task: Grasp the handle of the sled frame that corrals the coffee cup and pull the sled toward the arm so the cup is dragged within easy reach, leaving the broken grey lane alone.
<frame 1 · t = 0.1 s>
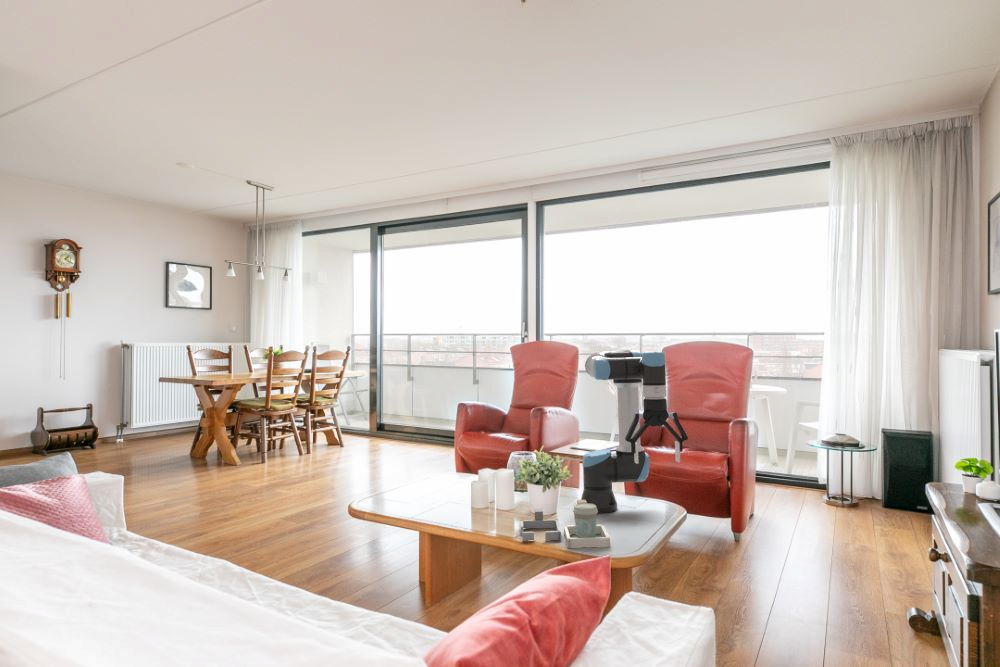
hand: (657, 462, 197), 28 cm above the table, tool pointing down, fingers open, 13 cm apart
coffee cup: (586, 541, 206), resting in sled
sled: (585, 522, 208), point 5 cm above the table, slide at 0.0 cm
broken lane: (540, 534, 214), on the table
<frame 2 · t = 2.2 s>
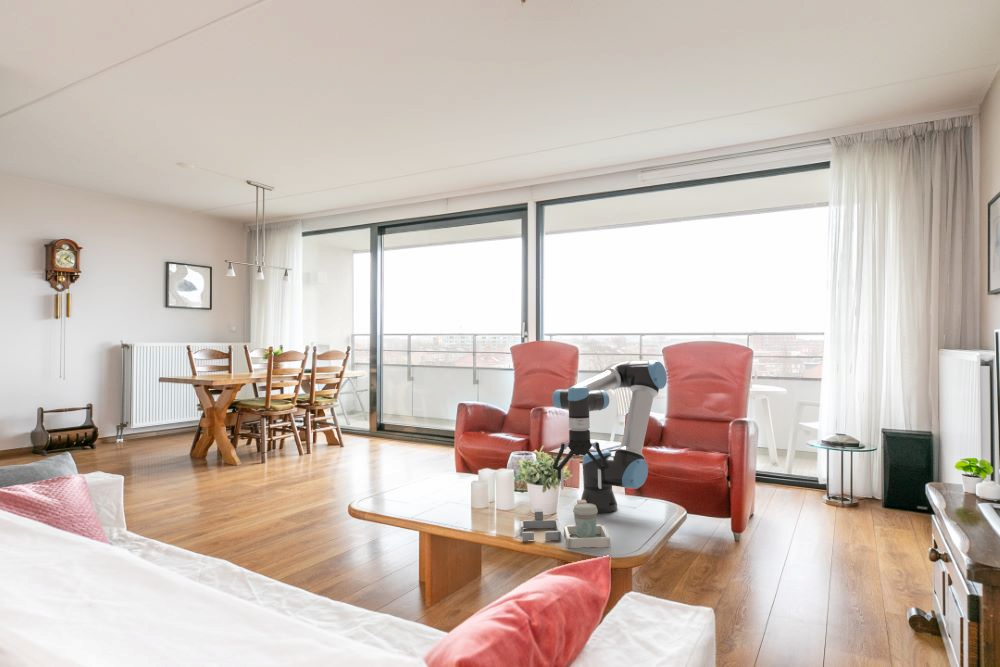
hand: (581, 488, 216), 16 cm above the table, tool pointing down, fingers open, 13 cm apart
nothing on the table moved.
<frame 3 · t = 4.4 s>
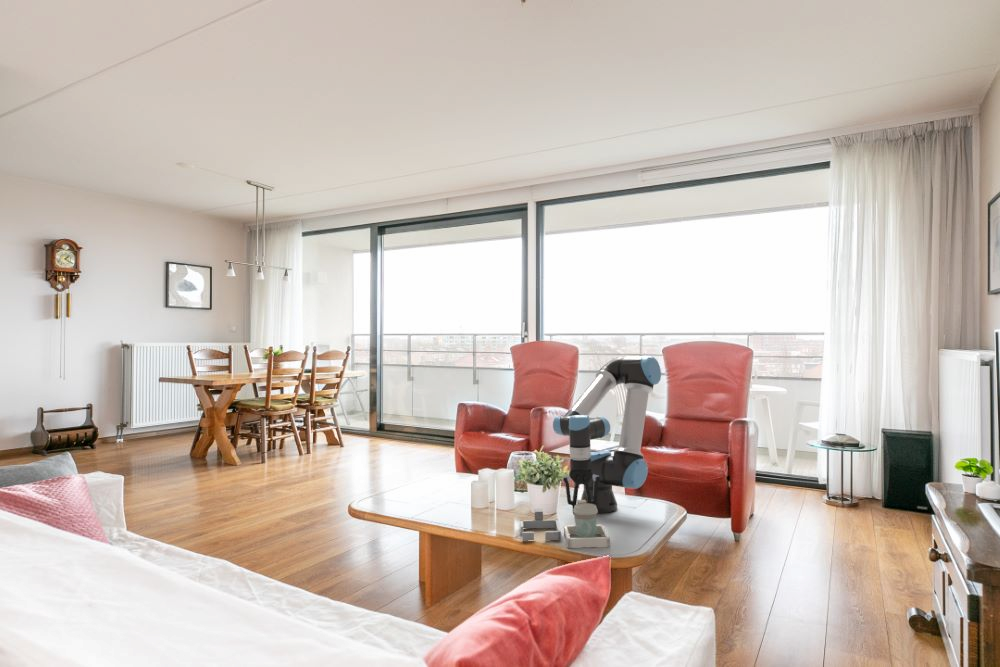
hand: (582, 523, 216), 3 cm above the table, tool pointing down, fingers closed on sled, 3 cm apart
sled: (585, 522, 208), point 5 cm above the table, slide at 0.0 cm, touching gripper
everything else where it was.
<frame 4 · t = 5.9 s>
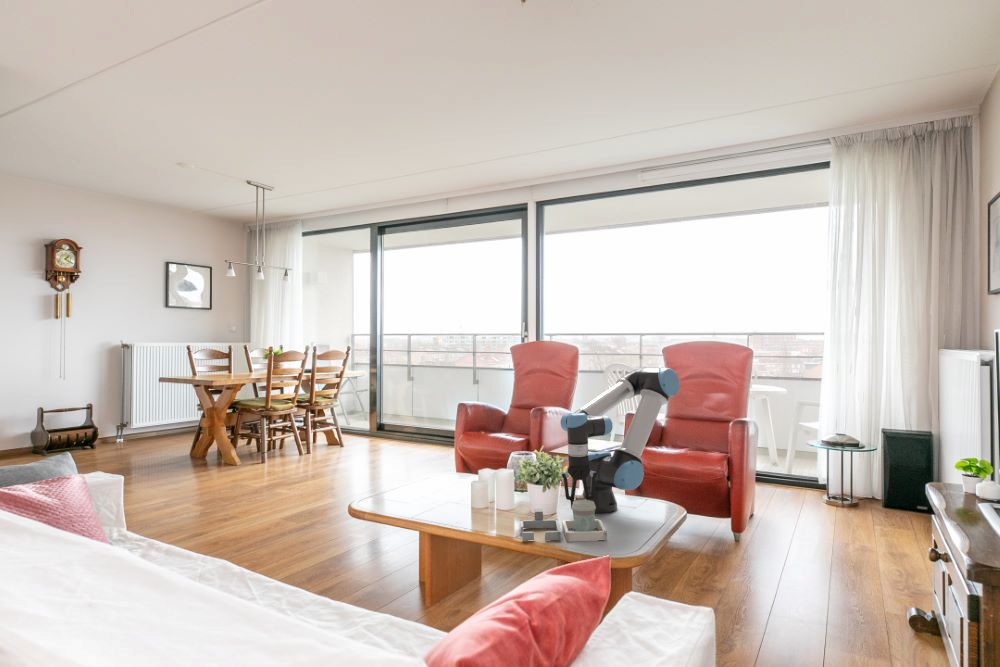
hand: (580, 517, 223), 3 cm above the table, tool pointing down, fingers closed on sled, 3 cm apart
coffee cup: (584, 537, 210), resting in sled
sled: (582, 517, 215), point 5 cm above the table, slide at 6.9 cm, touching gripper
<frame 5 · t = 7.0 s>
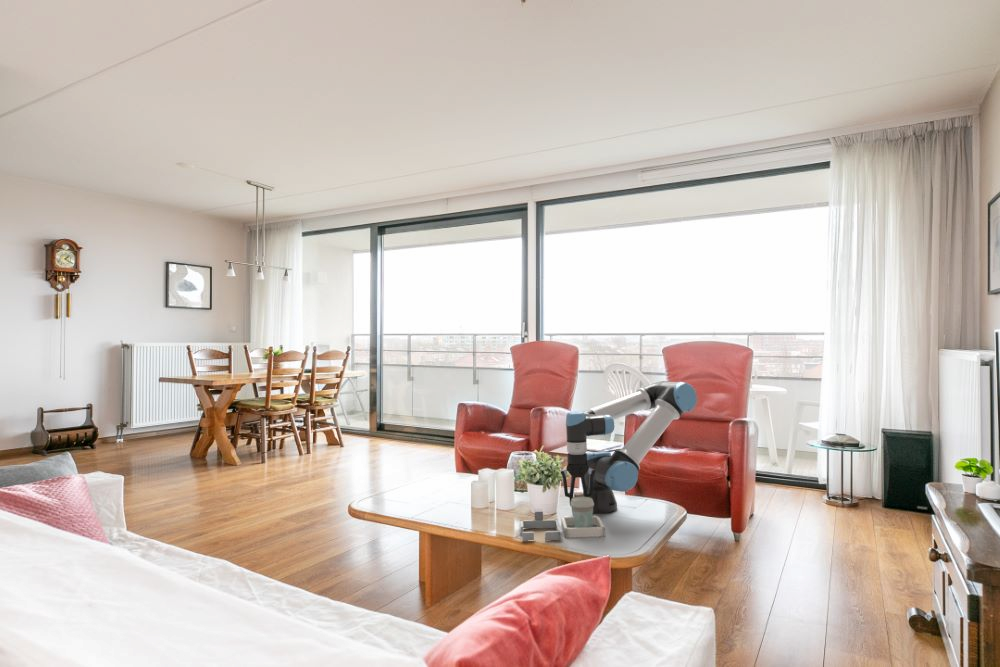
hand: (579, 514, 227), 3 cm above the table, tool pointing down, fingers closed on sled, 3 cm apart
coffee cup: (583, 533, 215), resting in sled
sled: (581, 513, 220), point 5 cm above the table, slide at 11.3 cm, touching coffee cup, gripper
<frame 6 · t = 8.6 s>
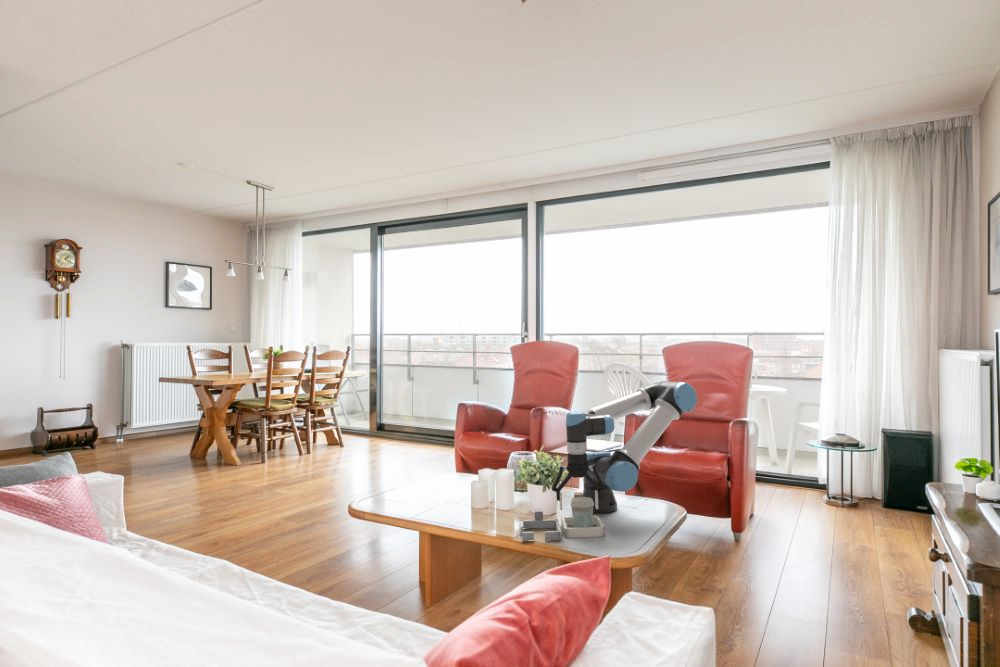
hand: (578, 508, 227), 5 cm above the table, tool pointing down, fingers open, 13 cm apart
coffee cup: (583, 533, 215), resting in sled
sled: (581, 513, 220), point 5 cm above the table, slide at 11.3 cm
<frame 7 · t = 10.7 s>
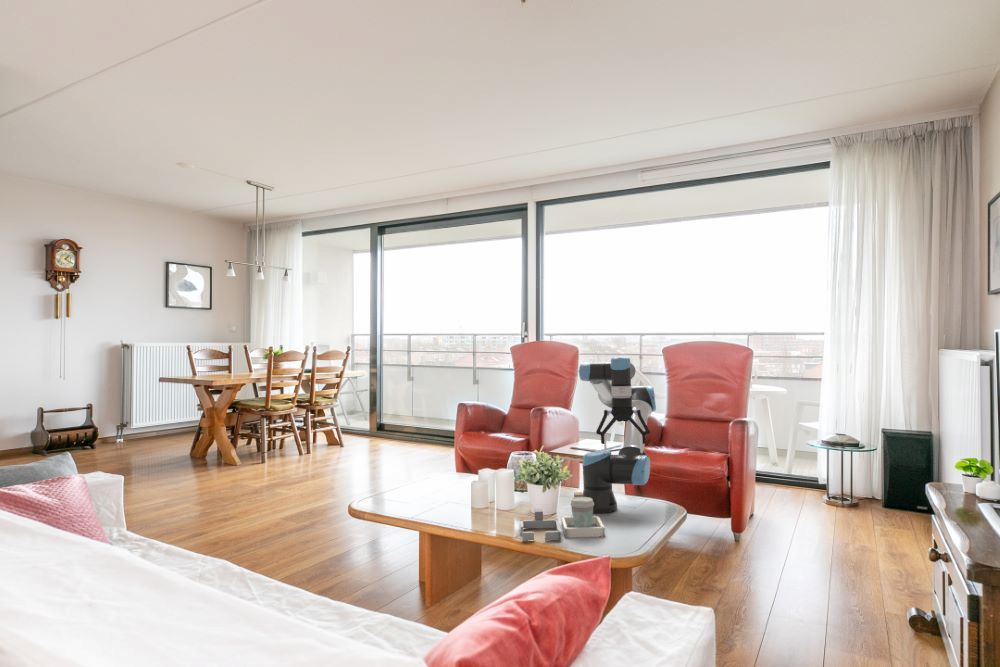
hand: (623, 452, 229), 26 cm above the table, tool pointing down, fingers open, 13 cm apart
nothing on the table moved.
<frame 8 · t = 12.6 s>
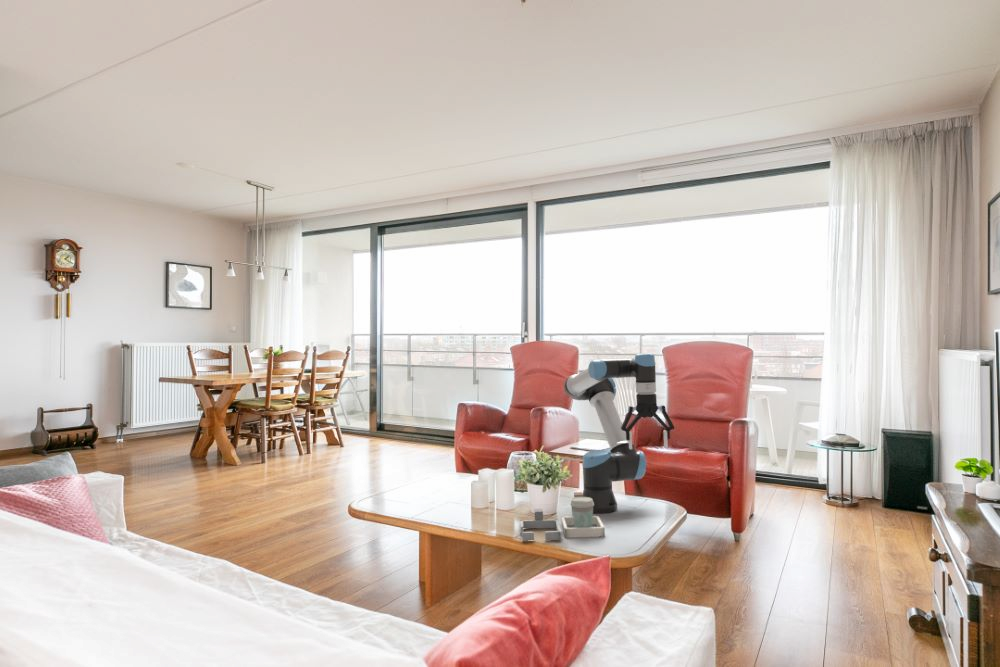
hand: (648, 448, 231), 27 cm above the table, tool pointing down, fingers open, 13 cm apart
nothing on the table moved.
at the end: sled slide at 11.3 cm; coffee cup inside the target area on the sled (2.7 cm from its centre), point 0.0 cm above the sled's base; coffee cup tilted 0° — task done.
